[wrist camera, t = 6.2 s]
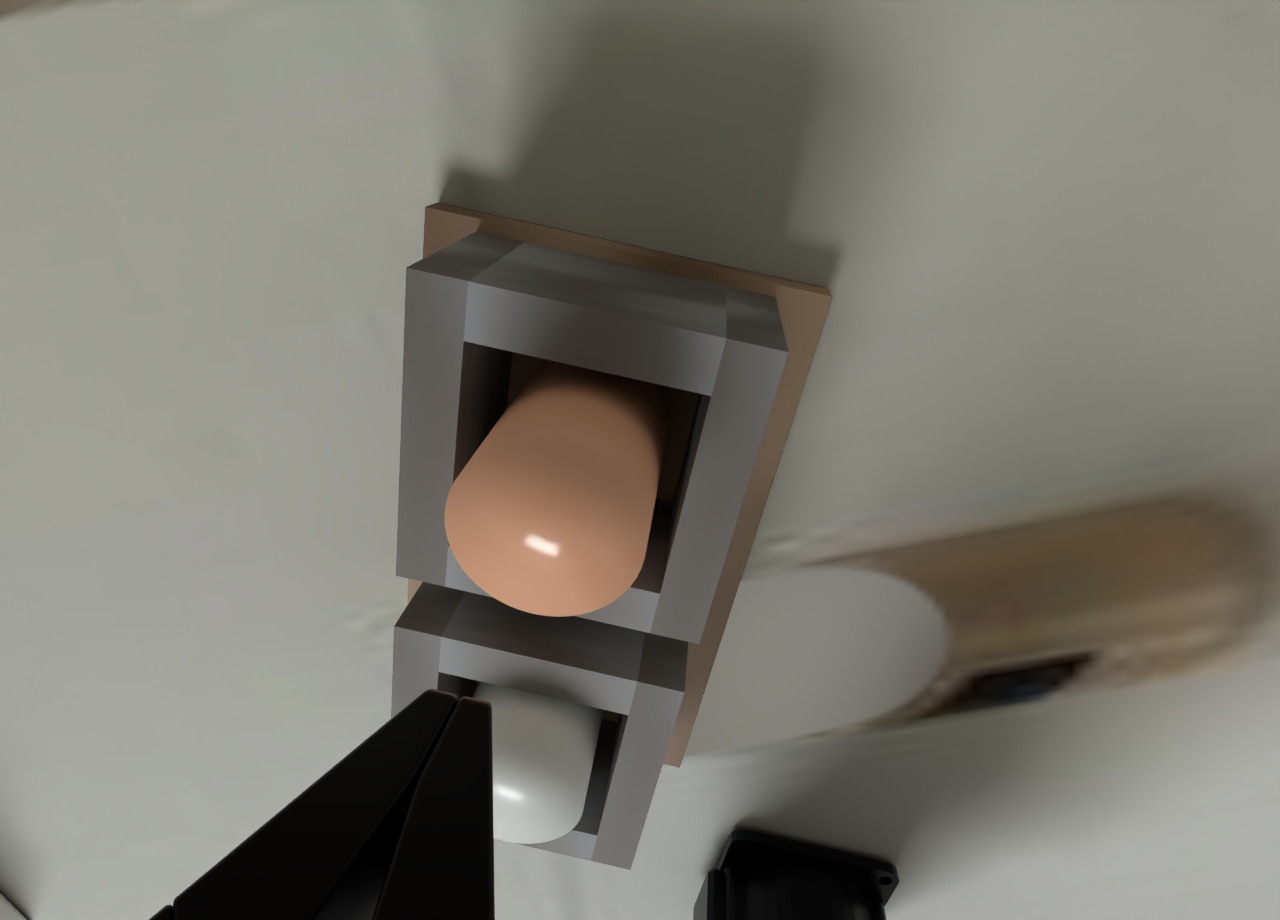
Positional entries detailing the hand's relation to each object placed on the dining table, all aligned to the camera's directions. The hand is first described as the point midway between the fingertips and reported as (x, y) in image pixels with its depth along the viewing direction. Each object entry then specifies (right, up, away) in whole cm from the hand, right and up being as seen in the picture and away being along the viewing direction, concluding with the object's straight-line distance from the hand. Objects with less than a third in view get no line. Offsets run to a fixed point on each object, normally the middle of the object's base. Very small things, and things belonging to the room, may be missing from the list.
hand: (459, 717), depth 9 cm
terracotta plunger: (+1, +4, +8) cm, 9 cm away
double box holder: (0, +1, +13) cm, 13 cm away
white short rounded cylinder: (0, -3, +14) cm, 14 cm away
